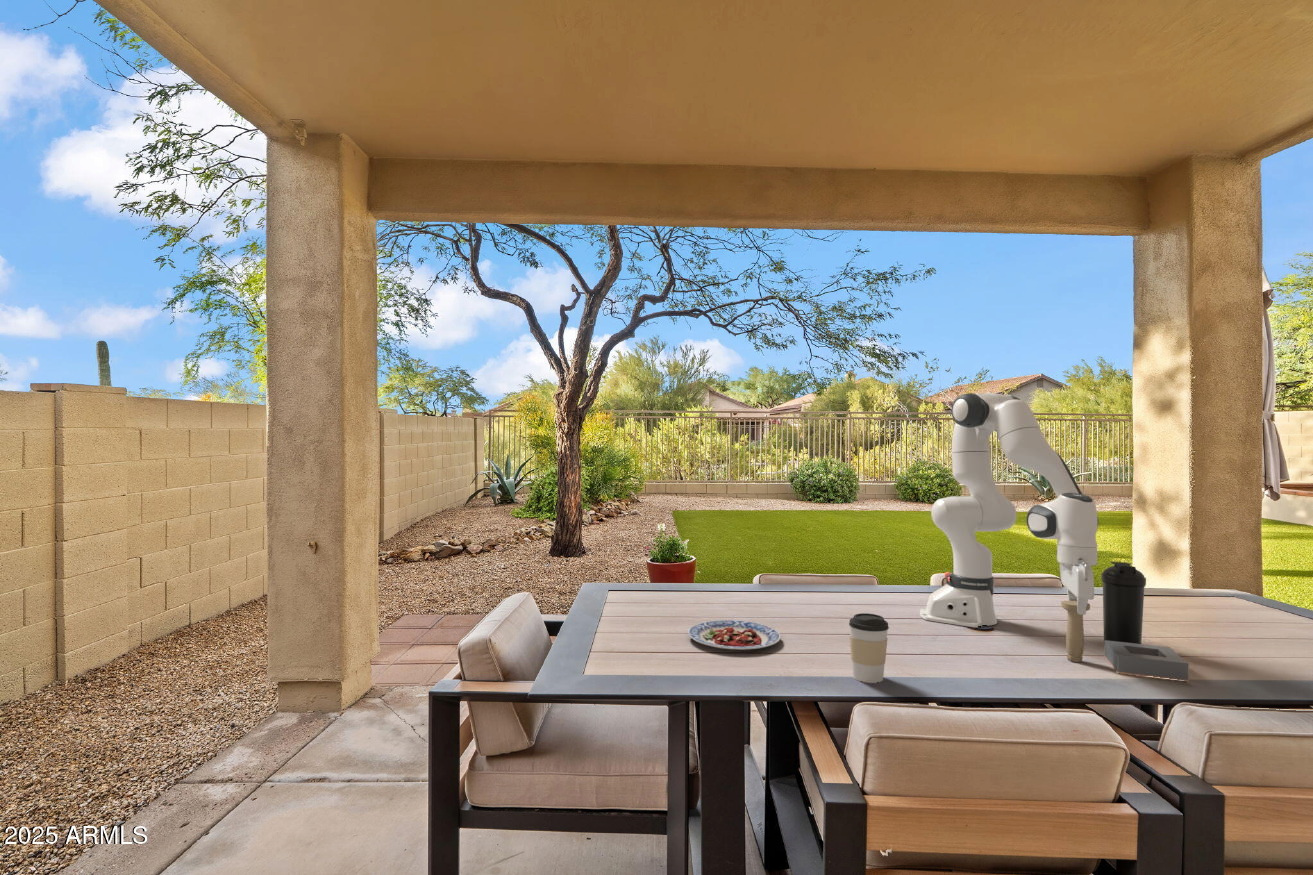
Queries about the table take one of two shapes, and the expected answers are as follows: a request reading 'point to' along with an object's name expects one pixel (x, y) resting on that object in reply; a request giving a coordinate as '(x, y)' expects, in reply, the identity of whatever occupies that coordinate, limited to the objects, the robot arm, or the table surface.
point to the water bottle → (1123, 603)
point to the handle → (1074, 631)
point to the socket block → (1145, 660)
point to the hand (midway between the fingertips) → (1077, 609)
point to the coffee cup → (868, 647)
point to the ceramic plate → (734, 634)
